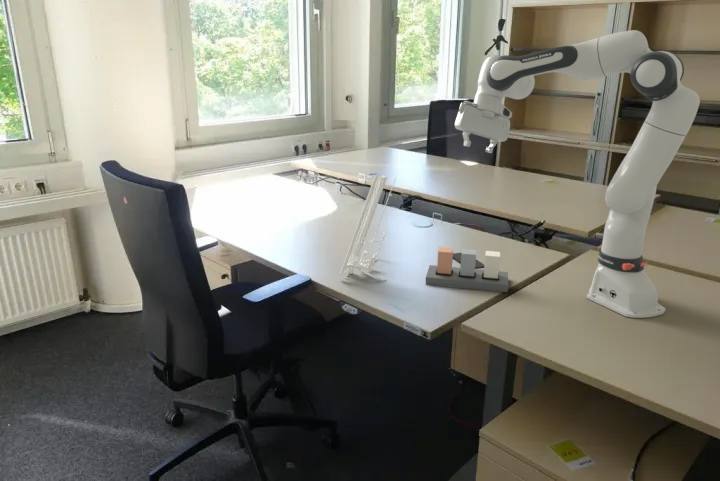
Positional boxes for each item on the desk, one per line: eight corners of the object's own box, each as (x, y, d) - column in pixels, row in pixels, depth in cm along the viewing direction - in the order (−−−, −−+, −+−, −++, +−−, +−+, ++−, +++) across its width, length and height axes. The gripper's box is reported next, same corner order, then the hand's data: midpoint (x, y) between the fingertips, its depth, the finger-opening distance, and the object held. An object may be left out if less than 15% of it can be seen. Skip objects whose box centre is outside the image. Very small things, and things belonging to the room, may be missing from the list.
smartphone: (468, 268, 186) (447, 254, 199) (468, 271, 186) (447, 256, 199) (487, 266, 188) (465, 251, 201) (486, 268, 188) (465, 254, 201)
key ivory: (497, 273, 175) (499, 251, 172) (497, 278, 171) (499, 256, 168) (483, 272, 176) (485, 250, 173) (483, 277, 172) (485, 255, 169)
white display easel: (371, 268, 197) (404, 179, 190) (402, 284, 190) (437, 193, 183) (336, 272, 177) (372, 173, 169) (370, 291, 170) (408, 188, 163)
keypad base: (507, 279, 178) (507, 272, 177) (507, 292, 168) (508, 285, 167) (429, 271, 184) (429, 265, 183) (425, 284, 174) (425, 277, 173)
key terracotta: (451, 269, 178) (453, 248, 176) (450, 274, 174) (452, 252, 172) (438, 267, 179) (439, 247, 177) (437, 272, 175) (438, 251, 173)
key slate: (474, 271, 176) (476, 250, 174) (474, 276, 172) (475, 254, 170) (460, 270, 177) (462, 248, 175) (459, 275, 173) (461, 253, 171)
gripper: (467, 98, 166) (458, 142, 167) (515, 114, 175) (507, 155, 176) (455, 99, 171) (446, 142, 172) (502, 115, 181) (494, 155, 182)
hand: (477, 149), depth 174 cm, fingers open, 8 cm apart
